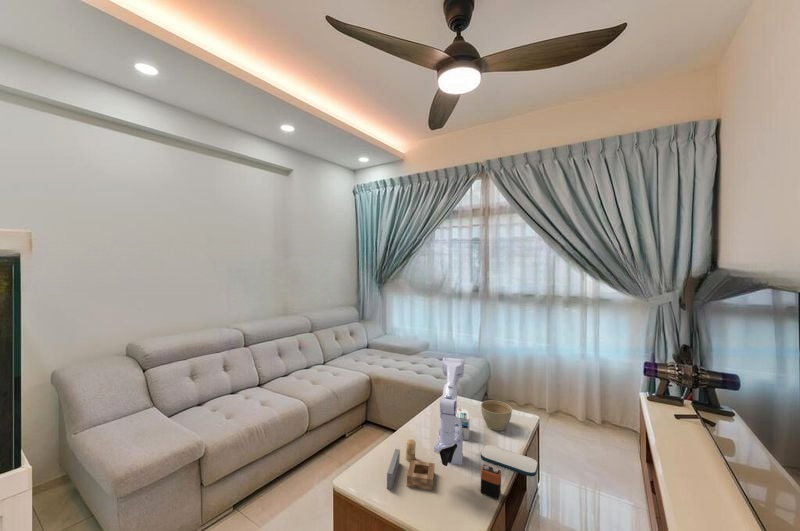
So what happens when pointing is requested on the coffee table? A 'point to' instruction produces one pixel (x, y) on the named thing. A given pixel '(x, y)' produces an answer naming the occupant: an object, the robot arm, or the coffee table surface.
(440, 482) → the coffee table surface
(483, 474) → the battery
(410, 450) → the oak dowel
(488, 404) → the planter bowl
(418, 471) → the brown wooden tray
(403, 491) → the coffee table surface
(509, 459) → the white teal rounded slab
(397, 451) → the slate stop wall
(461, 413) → the light bulb box
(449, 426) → the robot arm
